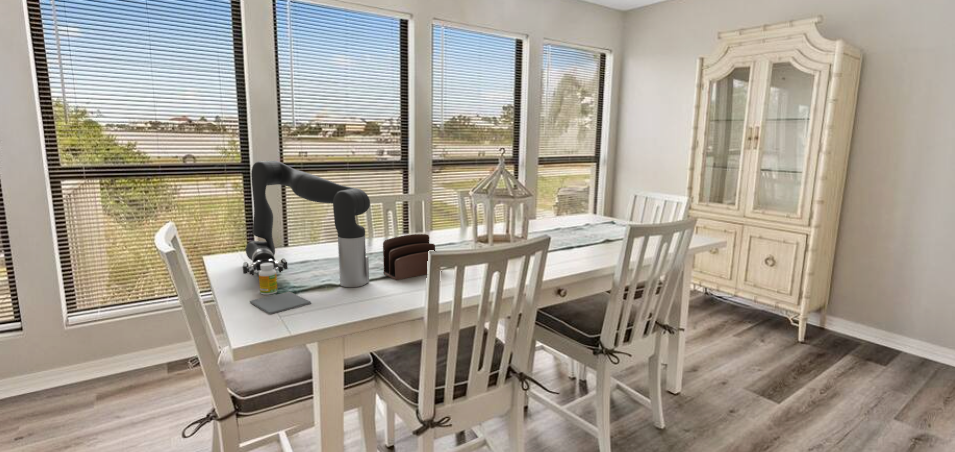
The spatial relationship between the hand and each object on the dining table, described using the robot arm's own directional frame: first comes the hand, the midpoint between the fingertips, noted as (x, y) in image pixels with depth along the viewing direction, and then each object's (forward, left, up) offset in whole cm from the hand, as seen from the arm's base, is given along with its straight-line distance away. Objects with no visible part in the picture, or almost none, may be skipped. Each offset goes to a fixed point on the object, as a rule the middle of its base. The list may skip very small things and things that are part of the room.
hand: (266, 271), depth 170 cm
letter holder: (-47, +20, -6) cm, 51 cm away
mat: (+4, +17, -6) cm, 18 cm away
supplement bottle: (+2, +4, -6) cm, 8 cm away
